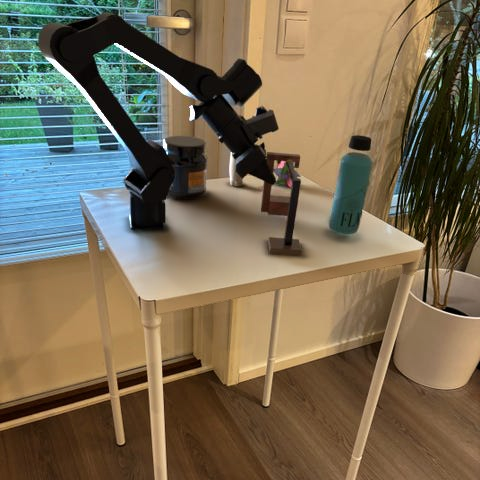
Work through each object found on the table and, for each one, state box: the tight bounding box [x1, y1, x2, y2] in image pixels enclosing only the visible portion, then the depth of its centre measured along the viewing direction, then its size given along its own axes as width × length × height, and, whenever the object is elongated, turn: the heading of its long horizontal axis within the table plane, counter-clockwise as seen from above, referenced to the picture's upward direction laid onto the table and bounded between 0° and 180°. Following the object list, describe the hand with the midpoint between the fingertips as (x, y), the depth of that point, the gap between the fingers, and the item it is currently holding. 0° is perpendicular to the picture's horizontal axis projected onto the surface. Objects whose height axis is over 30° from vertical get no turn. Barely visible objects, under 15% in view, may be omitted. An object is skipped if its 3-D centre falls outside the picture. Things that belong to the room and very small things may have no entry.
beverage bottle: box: [328, 134, 374, 235], centre depth 101 cm, size 6×7×20 cm
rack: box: [267, 160, 303, 257], centre depth 99 cm, size 6×16×14 cm, turn 1°
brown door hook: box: [260, 151, 301, 217], centre depth 107 cm, size 7×4×12 cm, turn 91°
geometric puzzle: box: [273, 161, 301, 189], centre depth 129 cm, size 7×7×8 cm
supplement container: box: [162, 135, 209, 200], centre depth 116 cm, size 10×10×12 cm
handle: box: [229, 151, 244, 187], centre depth 124 cm, size 5×6×15 cm
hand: (274, 181), depth 107 cm, fingers closed on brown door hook, 2 cm apart
